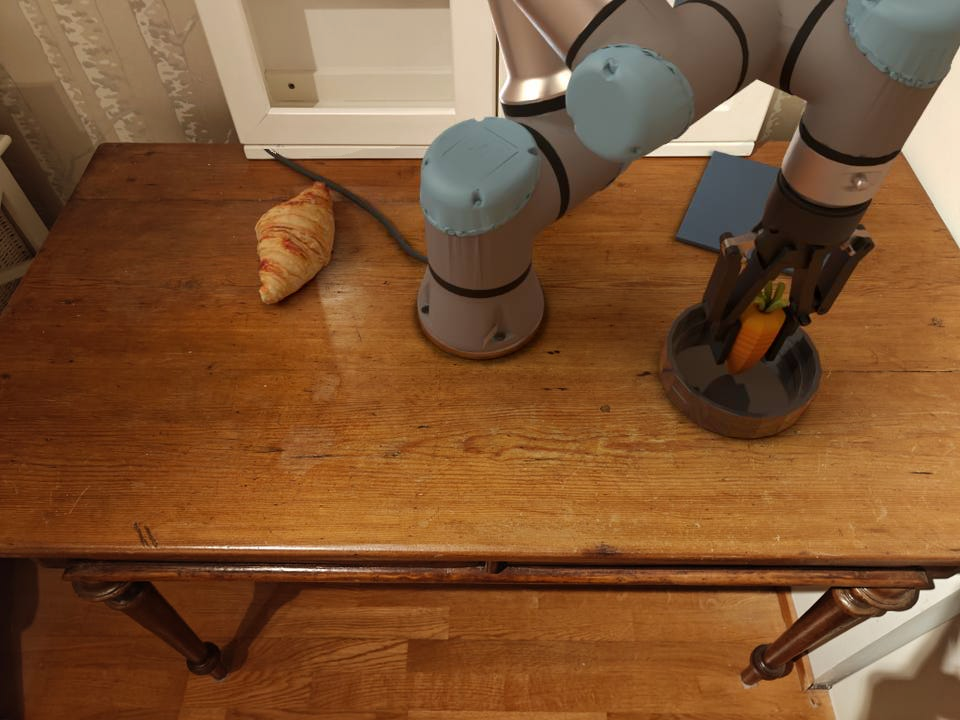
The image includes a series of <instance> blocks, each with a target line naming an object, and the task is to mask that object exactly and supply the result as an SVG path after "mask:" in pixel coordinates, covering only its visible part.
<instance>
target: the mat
mask: <svg viewBox="0 0 960 720" xmlns="http://www.w3.org/2000/svg"><path fill="white" fill-rule="evenodd" d="M781 168H782V167H778V166H774V165H771V164H767V163H763V162H759V161H756V160H752V159H748V158H744V157H740V156H736V155H733V154H729V153H725V152H722V151H718V150H713V153H712V155H711V156H710V159H709V162H708V164H707V166H706V168H705V170H704V173H703V174H702V177H701V179H700V182H699V184H698V186H697V189H696V191H695V193H694V195H693V198H692V199H691V202H690V204H689V207H688V209H687V211H686V213H685V215H684V217H683V220H682V222H681V225H680V227H679V229H678V231H677V234H676V236H675V240H676V241H679V242H682V243H685V244H690V245H692V246H695V247H699V248H702V249H705V250H709V251H712V252H715V253H719V254H720V242H719V237H720V236H721V235H722V234H723V233H725V232H731V233H732V234H733V237H738V236H741V235H744V234H748V233H751V230H752V228H753V227H754V226H755V225H756V224H757V223H758V222H759V221H760V220H761V219H762V217H763V214H764V210H765V205H766V201H767V198H768V196H769V193H770V191H771V189H772V186H773V184H774V181H775V179H776V177H777V174H778V172H779V170H780V169H781ZM754 249H755V247H754V248H752V249H750V250H749V252H748V255H747V256H746V258H747V261H746V262H747V263H748V262H749V261H750V259H751V253H752V251H753V250H754ZM830 254H831V253H830ZM830 254H828V255H827V256H826V259H824V262H823V266H824V265H825V263H826V261H827V259H828V257H829V256H830ZM822 268H823V267H822ZM793 270H794V268H788V269H784V270H783V271H782V272H781V273H784V274H788V275H791V276H793ZM817 277H818V276H817Z"/></svg>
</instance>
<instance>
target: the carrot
mask: <svg viewBox="0 0 960 720" xmlns="http://www.w3.org/2000/svg"><path fill="white" fill-rule="evenodd" d="M773 287H774V284H773V281H769V282H768V283H767V284H766V285H765V287H764V288H763V289H764V292H763V291H762V290H761V292H760V293H759V294H758V295H757V296H756V298H755V299H754V300H753V301H752V303H751V304H750V305H749V306H748V307H747V309H746V310H745V311H744V312H743V313H742V315H741V316H740V317H739V321H740V324H741V328H740V330H739V332H738V335H737V337H736V339H735V341H734V343H733V345H732V347H731V349H730V351H729V354H728V356H727V358H726V360H725V362H724V363H725V366H726V369H727V371H728V373H729V374H731V375H736V374H739V373H742V372H745V371H746V370H748V369H750V368H752V367H753V366H754V365H755V364H756V363H757V362H758V361H759V360H760V359H761V358H762V357H763V355H764V354H765V353H766V351H767V350H768V348H769V347H770V345H771V344H772V342H773V340H774V339H775V337H776V335H777V334H778V332H779V330H780V328H781V326H782V325H783V323H784V321H785V318H786V315H785V313H784V311H783V309H782V308H781V307H785V306H786V305H789V301H788V299H785V298H783V295H784V293H785V290H786V283H784V282H783V281H781V280H779V281H778V282H777V286H776V287H775V291H774V293H773V290H774V288H773ZM763 293H764V294H763Z"/></svg>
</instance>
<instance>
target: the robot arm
mask: <svg viewBox="0 0 960 720" xmlns="http://www.w3.org/2000/svg"><path fill="white" fill-rule="evenodd" d="M486 2H487V5H488V9H489V12H490V16H491V20H492V24H493V27H494V30H495V35H496V37H497V41H498V44H499V48H500V52H501V55H502V59H503V62H504V66H505V70H506V73H507V78H506V80H505V83H504V85H503V86H502V88H501V90H500V93H499V95H498V97H499V98H498V99H499V101H500V104H501V108H502V113H503V115H504V117H500V116H484V118H483V119H482V120H480V121H479V120H477V119H476V118H474V117H473V118H469V119H465V120H462V121H460V122H457V123H455V124H453V125H451V126H449V127H448V128H446V129H444V130H443V131H441V133H439V135H437V136H436V137H435V138H434V140H433V141H432V142H431V143H430V144H429V146H428V147H427V149H426V151H425V153H424V156H423V159H422V162H421V167H420V187H419V201H420V206H421V210H422V212H423V222H424V223H423V224H424V232H425V245H426V254H427V256H426V255H424V254H421V253H419V252H417V251H416V250H414V248H412V247H411V246H410V245H408V243H407V242H406V241H405V240H404V239H403V237H402V236H401V235H400V233H398V231H397V230H396V229H395V227H394V226H393V225H392V223H390V222H389V220H387V218H386V217H385V216H384V215H382V213H380V211H378V210H376V209H375V207H373V206H372V205H370V203H368V202H366V201H365V200H364V199H362V198H361V197H360V196H357V195H356V194H354V193H353V192H352V191H349V190H347V189H346V188H344V187H343V186H341V185H339V184H337V183H335V182H333V181H331V180H330V179H327V178H325V177H323V176H321V175H319V174H316V173H315V172H312V171H310V170H308V169H307V168H304V167H303V166H301V165H299V164H298V163H296V162H294V161H292V160H290V159H288V158H287V157H285V156H283V155H281V154H280V153H279V152H277V151H275V150H274V149H272V150H273V151H274V152H276V154H275V153H273V152H271V151H270V150H269V149H263V151H265V152H266V153H267V154H268V155H270V156H271V157H272V158H274V159H275V160H276V161H279V162H280V163H282V164H283V165H286V166H287V167H289V168H291V169H292V170H294V171H296V172H298V173H299V174H301V175H303V176H305V177H307V178H308V179H309V178H310V179H311V180H314V181H315V182H317V181H318V182H325V183H326V184H327V186H328V188H331V189H332V190H334V191H336V192H338V193H339V194H341V195H342V196H344V197H346V198H348V199H349V200H351V201H352V202H354V203H355V204H357V205H358V206H360V207H361V208H362V209H364V210H365V211H367V212H368V214H370V215H371V216H373V217H374V218H375V219H376V220H377V221H378V222H380V223H381V225H382V226H383V227H384V228H385V229H386V230H387V232H388V233H389V234H390V235H391V237H392V238H393V239H394V240H395V242H396V243H397V244H398V245H399V246H400V248H401V249H402V250H403V251H404V252H405V254H408V256H410V257H411V258H412V259H415V260H416V261H419V262H421V263H424V264H426V265H427V266H426V269H425V272H424V275H423V278H422V280H421V283H420V286H419V289H418V293H417V298H416V310H417V318H418V322H419V325H420V327H421V330H422V332H423V333H424V335H425V336H426V337H427V339H428V340H429V341H430V342H431V343H432V344H434V345H435V346H436V347H437V348H438V349H440V350H442V351H444V352H445V353H448V354H451V355H452V356H457V357H459V358H463V359H468V360H469V359H470V360H490V359H491V360H492V359H496V358H501V357H504V356H507V355H510V354H513V353H514V352H517V351H518V350H520V349H521V348H523V347H524V346H526V345H527V344H528V343H529V342H530V341H531V340H532V339H533V338H534V337H535V336H536V334H537V333H538V331H539V330H540V327H541V324H542V322H543V317H544V309H545V300H544V293H543V289H542V286H541V284H540V282H539V279H538V276H537V274H536V271H535V268H534V265H533V262H532V261H533V250H534V249H533V248H534V240H535V239H536V237H537V236H538V235H540V233H542V232H543V231H544V230H546V229H547V228H549V227H550V226H552V225H553V224H554V223H556V222H557V221H559V220H560V219H562V218H563V217H564V216H566V215H567V214H569V213H570V212H572V211H574V210H575V209H576V208H577V207H579V206H580V205H581V204H583V203H584V202H586V201H588V200H589V199H590V198H591V197H593V196H594V195H596V194H597V193H598V192H599V193H600V192H602V191H604V190H605V189H608V187H610V186H611V185H612V184H613V183H614V182H615V181H616V180H617V179H618V178H619V177H620V176H621V175H622V174H623V173H625V172H626V171H627V170H628V169H629V167H631V165H632V164H633V162H636V161H637V160H640V159H642V158H644V157H646V156H647V155H650V154H651V153H653V152H655V151H656V150H658V149H660V148H661V147H662V146H665V145H667V144H670V142H672V141H674V140H677V139H680V138H681V137H682V136H683V135H684V134H685V133H686V132H687V131H688V130H689V129H690V128H691V127H692V126H693V125H694V124H696V123H697V122H699V121H700V120H701V119H703V118H704V117H705V116H707V115H708V114H710V113H711V112H712V111H714V110H715V109H716V108H718V107H719V106H721V105H722V104H724V103H725V102H727V101H729V100H731V99H732V98H733V97H734V96H736V95H737V94H739V93H740V92H742V91H743V90H744V89H746V88H748V87H749V86H750V85H751V84H753V83H755V82H756V81H759V82H762V83H763V84H765V85H768V86H770V87H773V88H774V89H777V90H780V91H781V92H783V93H786V94H788V95H789V96H795V97H797V98H799V99H802V100H804V101H805V102H806V105H805V108H804V111H803V112H802V115H801V117H800V120H799V123H798V125H797V127H796V130H795V132H794V135H793V136H792V138H791V141H790V143H789V146H788V148H787V149H786V152H785V154H784V157H783V158H782V161H781V162H782V163H781V167H780V168H781V169H780V170H779V172H778V174H777V177H776V179H775V181H774V184H773V186H772V189H771V191H770V193H769V196H768V198H767V201H766V205H765V210H764V214H763V217H762V219H761V220H760V221H759V222H758V223H757V224H756V225H755V226H754V227H753V228H752V230H751V233H748V234H744V235H741V236H738V237H733V234H732V233H731V232H725V233H723V234H722V235H721V236H720V237H719V242H720V253H719V254H718V257H717V259H716V262H715V263H714V266H713V269H712V272H711V274H710V277H709V279H708V282H707V284H706V287H705V289H704V292H703V295H702V298H701V301H700V302H702V305H703V308H704V311H705V314H706V316H707V319H708V321H709V322H712V325H711V327H710V330H711V333H712V336H713V338H712V340H711V343H710V348H711V351H712V354H713V357H714V359H715V362H716V365H723V364H724V362H725V360H726V358H727V356H728V354H729V351H730V349H731V347H732V345H733V343H734V341H735V339H736V337H737V335H738V332H739V330H740V328H741V324H740V321H739V317H740V316H741V315H742V313H743V312H744V311H745V310H746V309H747V307H748V306H749V305H750V304H751V303H752V301H753V300H754V299H755V298H756V296H757V295H758V294H759V293H760V292H761V291H762V290H763V289H764V287H765V285H766V284H767V283H768V282H769V281H772V282H774V281H776V280H777V279H778V277H779V276H780V275H781V274H782V273H783V272H782V271H783V270H784V269H788V268H794V270H793V275H791V276H792V277H791V282H790V287H789V294H788V299H787V302H788V304H787V305H786V306H785V307H781V308H782V309H783V311H784V313H785V315H786V318H785V321H784V323H783V325H782V326H781V328H780V330H779V332H778V334H777V335H776V337H775V339H774V340H773V342H772V344H771V345H770V347H769V348H768V350H767V351H766V353H765V354H764V356H765V359H766V361H767V362H769V361H774V360H775V358H776V356H777V354H778V353H779V351H780V349H781V347H782V345H783V344H784V342H785V340H786V338H787V337H788V336H792V335H793V334H795V332H796V331H797V329H798V327H799V326H800V327H807V326H809V325H811V324H812V323H813V321H812V319H811V316H810V315H811V314H815V313H816V315H818V316H824V315H826V314H828V313H829V312H830V310H831V309H832V307H833V305H834V303H835V302H836V300H837V298H838V297H839V295H840V293H841V292H842V291H843V289H844V287H845V286H846V284H847V282H848V281H849V279H850V277H851V275H852V274H853V272H854V271H855V269H856V267H857V266H858V265H859V262H861V261H862V260H863V259H864V258H865V257H866V256H867V255H868V254H869V253H870V252H872V251H873V250H874V249H875V247H876V244H875V242H874V240H873V239H872V237H871V235H870V233H869V232H868V230H867V228H866V226H865V225H864V224H863V223H861V221H862V219H863V217H864V216H865V214H866V212H867V211H868V209H869V207H870V206H871V204H872V202H873V197H874V196H875V195H876V194H877V193H878V191H879V189H880V188H881V186H882V184H883V183H884V181H885V179H886V177H887V176H888V174H889V173H890V170H891V169H892V168H893V166H894V163H895V162H896V160H897V158H898V156H899V155H900V153H901V151H902V149H903V148H904V146H905V144H906V142H907V141H908V139H909V137H910V136H911V134H912V132H913V131H914V129H915V127H916V126H917V124H918V122H919V121H920V119H921V117H922V116H923V114H924V112H925V111H926V109H927V107H928V106H929V104H930V102H931V101H932V99H933V98H934V96H935V94H936V93H937V91H938V89H939V87H940V86H941V84H942V83H943V82H944V79H946V77H948V75H949V73H950V71H951V69H952V64H953V61H954V59H955V57H956V55H957V53H958V51H959V49H960V0H674V2H673V6H672V5H671V4H670V2H669V1H668V0H486ZM754 247H755V249H754V250H753V251H752V253H751V259H750V261H749V262H748V261H747V258H746V256H747V255H748V252H749V250H750V249H752V248H754ZM830 253H831V254H830ZM828 254H830V256H829V257H828V259H827V261H826V263H825V265H824V266H823V262H824V259H826V256H827V255H828ZM746 262H747V264H746V265H745V266H744V268H743V269H742V264H743V263H746ZM822 267H823V268H822ZM817 276H818V277H817Z"/></svg>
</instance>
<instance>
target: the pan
mask: <svg viewBox="0 0 960 720" xmlns="http://www.w3.org/2000/svg"><path fill="white" fill-rule="evenodd" d="M711 325H712V322H709V321H708V319H707V316H706V314H705V311H704V308H703V305H702V302H701V301H699V302H697V303H695V304H693V305H691V306H689V307H687V308H685V309H684V310H683V311H682V312H681V313H680V314H679V315H678V316H677V317H675V319H673V321H672V323H671V325H670V328H669V330H668V332H667V335H666V337H665V342H664V344H663V347H662V349H661V353H660V356H659V360H658V361H659V379H660V381H661V383H662V386H663V388H664V390H665V392H666V395H667V397H668V399H670V401H671V402H672V403H673V404H674V406H675V407H676V408H677V409H678V410H679V412H680V413H681V414H682V415H684V416H686V418H688V419H690V420H691V421H693V422H694V423H695V424H697V425H699V426H700V427H701V428H703V429H706V430H709V431H711V432H713V433H717V434H719V435H722V436H725V437H731V438H741V439H751V440H752V439H758V438H764V437H769V436H774V435H776V434H778V433H780V432H782V431H784V430H786V429H789V427H791V426H793V425H794V424H795V422H796V421H797V420H798V419H799V417H800V416H801V415H802V414H803V412H804V411H805V410H806V408H807V407H808V405H809V403H810V402H811V401H812V399H813V398H814V396H815V395H816V394H817V392H818V391H819V388H820V383H821V378H822V375H823V367H822V363H821V362H822V361H821V358H820V357H821V356H820V352H819V350H818V348H817V346H816V345H815V343H814V342H813V339H812V338H811V337H810V335H809V334H808V332H806V330H804V329H803V328H802V326H800V325H799V327H798V329H797V331H796V332H795V334H793V335H792V336H788V337H787V338H786V340H785V342H784V344H783V345H782V347H781V349H780V351H779V353H778V354H777V356H776V358H775V360H774V361H769V362H767V361H766V359H765V356H764V355H763V357H762V358H761V359H760V360H759V361H758V362H757V363H756V364H755V365H754V366H753V367H752V368H750V369H748V370H746V371H745V372H742V373H739V374H736V375H731V374H729V373H728V371H727V369H726V366H725V363H724V364H723V365H716V362H715V359H714V357H713V354H712V351H711V348H710V343H711V340H712V338H713V336H712V333H711V330H710V327H711Z"/></svg>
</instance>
